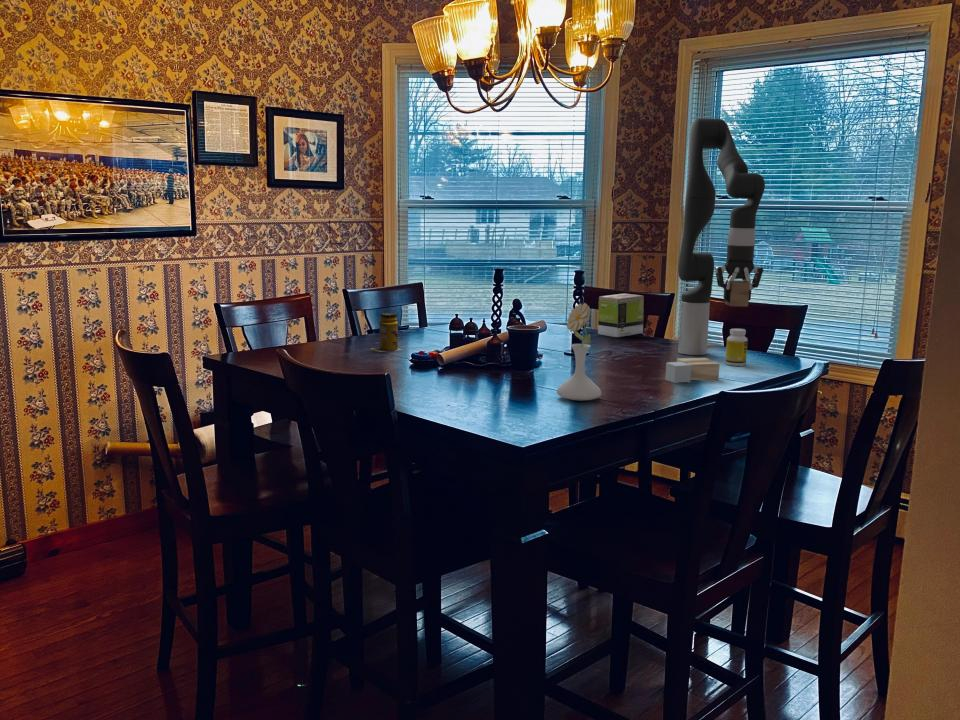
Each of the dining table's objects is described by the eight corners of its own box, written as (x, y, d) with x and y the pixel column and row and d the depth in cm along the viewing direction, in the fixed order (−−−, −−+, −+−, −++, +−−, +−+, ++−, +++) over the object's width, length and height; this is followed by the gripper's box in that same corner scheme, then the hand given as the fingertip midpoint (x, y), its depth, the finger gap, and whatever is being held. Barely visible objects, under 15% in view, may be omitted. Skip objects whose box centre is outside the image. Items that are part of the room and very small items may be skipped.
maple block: (675, 375, 246) (676, 358, 245) (704, 374, 247) (705, 357, 246) (688, 381, 237) (689, 364, 236) (718, 381, 238) (719, 363, 237)
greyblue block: (665, 379, 238) (666, 362, 237) (680, 378, 240) (681, 361, 239) (674, 383, 234) (675, 365, 233) (690, 382, 235) (691, 365, 234)
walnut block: (725, 303, 249) (727, 280, 248) (741, 304, 249) (743, 280, 248) (731, 306, 244) (732, 282, 243) (747, 306, 244) (749, 282, 243)
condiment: (402, 350, 278) (402, 314, 276) (380, 352, 273) (380, 316, 271) (391, 346, 284) (391, 311, 282) (369, 349, 279) (369, 313, 277)
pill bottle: (746, 366, 258) (749, 331, 256) (726, 365, 259) (728, 330, 257) (744, 363, 264) (747, 328, 262) (724, 362, 265) (726, 327, 263)
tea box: (623, 330, 326) (624, 292, 323) (643, 334, 318) (645, 295, 315) (596, 334, 316) (598, 295, 313) (617, 337, 309) (619, 297, 306)
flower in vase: (553, 393, 219) (556, 298, 214) (596, 393, 220) (600, 298, 215) (561, 405, 206) (564, 305, 202) (607, 405, 207) (611, 305, 202)
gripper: (760, 243, 247) (755, 300, 250) (712, 242, 246) (708, 300, 250) (770, 244, 240) (765, 304, 243) (720, 244, 239) (716, 303, 242)
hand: (736, 301), depth 246 cm, fingers closed on walnut block, 5 cm apart
